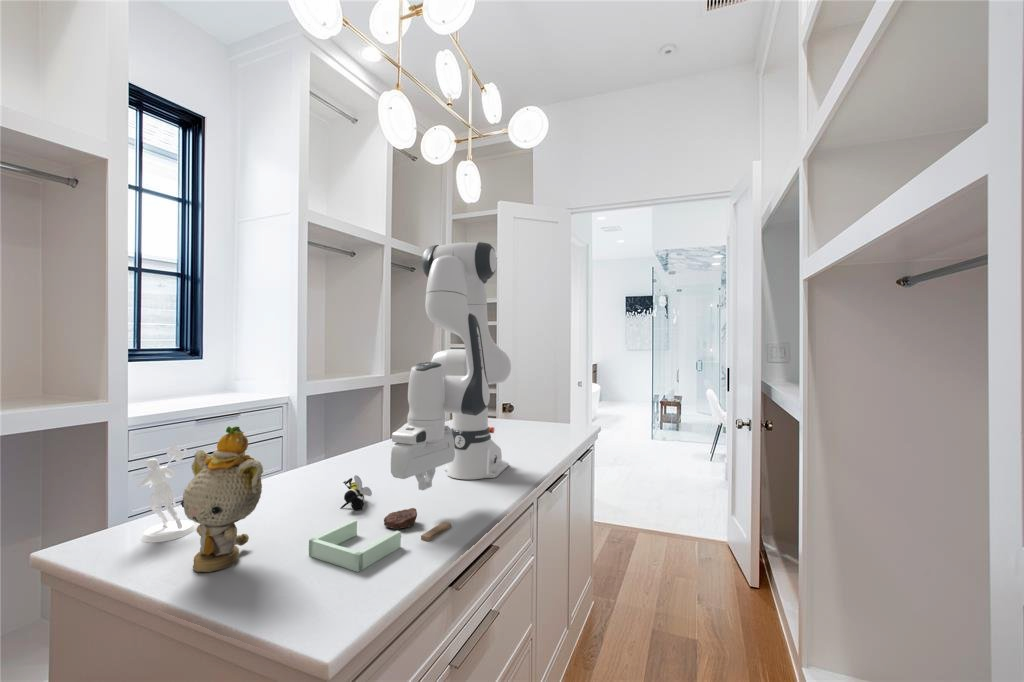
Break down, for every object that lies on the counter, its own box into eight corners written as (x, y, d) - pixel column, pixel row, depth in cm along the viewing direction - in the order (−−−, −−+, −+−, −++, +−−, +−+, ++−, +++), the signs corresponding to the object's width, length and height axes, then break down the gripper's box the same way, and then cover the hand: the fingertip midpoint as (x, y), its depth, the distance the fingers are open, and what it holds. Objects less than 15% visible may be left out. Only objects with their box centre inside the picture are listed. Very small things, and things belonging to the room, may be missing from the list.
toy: (332, 485, 116) (329, 507, 102) (355, 466, 118) (356, 485, 104) (349, 503, 118) (349, 527, 104) (371, 484, 120) (375, 505, 106)
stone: (417, 530, 96) (417, 516, 96) (383, 534, 94) (383, 519, 94) (416, 519, 102) (416, 505, 102) (384, 522, 100) (383, 508, 100)
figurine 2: (216, 590, 72) (217, 438, 72) (164, 564, 80) (165, 428, 81) (281, 560, 82) (282, 427, 82) (229, 540, 90) (230, 419, 91)
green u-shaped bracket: (353, 533, 93) (353, 519, 93) (400, 546, 88) (400, 531, 88) (308, 555, 84) (308, 540, 84) (358, 572, 78) (358, 555, 78)
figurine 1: (184, 519, 101) (185, 441, 101) (207, 528, 96) (208, 446, 96) (131, 536, 92) (132, 450, 92) (153, 546, 87) (154, 456, 88)
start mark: (443, 525, 98) (443, 521, 98) (451, 526, 97) (451, 523, 97) (420, 539, 91) (421, 535, 91) (428, 541, 90) (428, 537, 90)
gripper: (441, 423, 116) (440, 476, 115) (386, 435, 97) (385, 498, 97) (461, 425, 113) (460, 479, 112) (408, 438, 95) (407, 503, 94)
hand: (425, 488), depth 104 cm, fingers closed
